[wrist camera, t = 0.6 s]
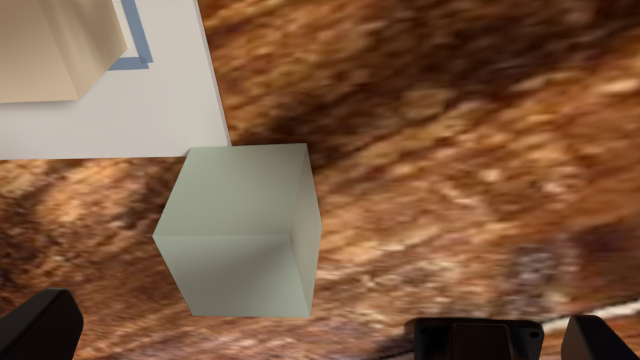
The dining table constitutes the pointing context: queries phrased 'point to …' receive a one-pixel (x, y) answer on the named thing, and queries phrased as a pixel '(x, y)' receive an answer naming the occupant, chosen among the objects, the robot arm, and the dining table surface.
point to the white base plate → (131, 96)
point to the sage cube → (243, 231)
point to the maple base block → (56, 48)
